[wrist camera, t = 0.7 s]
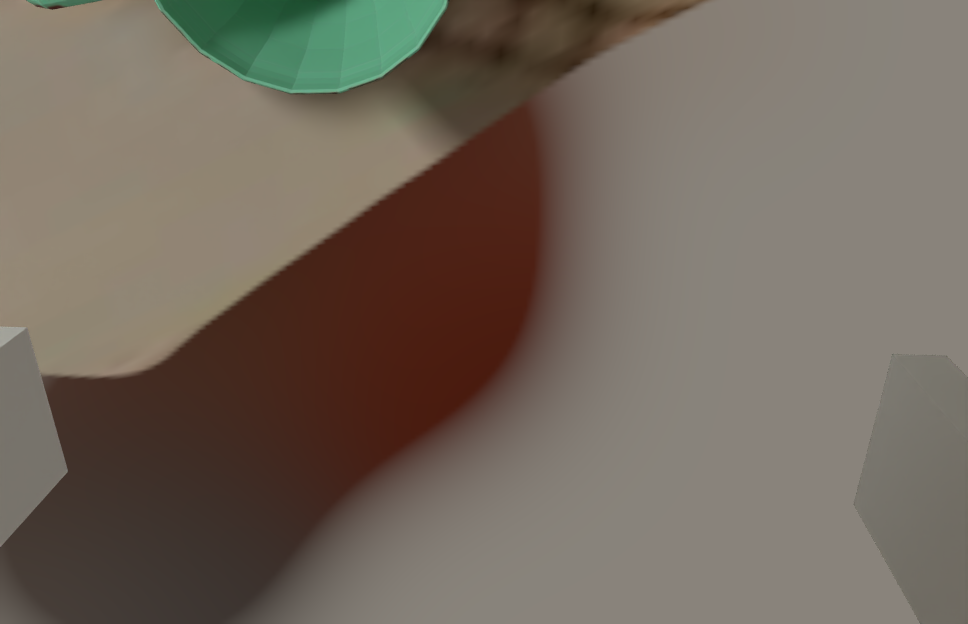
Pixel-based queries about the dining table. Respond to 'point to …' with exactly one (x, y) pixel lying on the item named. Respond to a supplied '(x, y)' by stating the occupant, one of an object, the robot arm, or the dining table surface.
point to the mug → (301, 38)
